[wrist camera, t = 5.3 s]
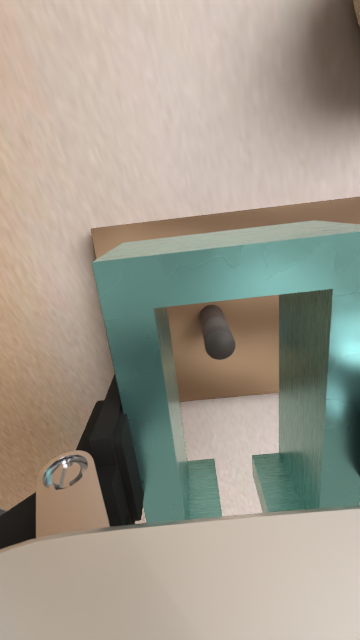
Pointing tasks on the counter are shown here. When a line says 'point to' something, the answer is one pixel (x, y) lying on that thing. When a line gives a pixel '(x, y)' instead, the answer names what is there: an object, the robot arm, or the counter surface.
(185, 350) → the stand
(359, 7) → the ceramic mug
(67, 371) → the counter surface
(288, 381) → the c link
